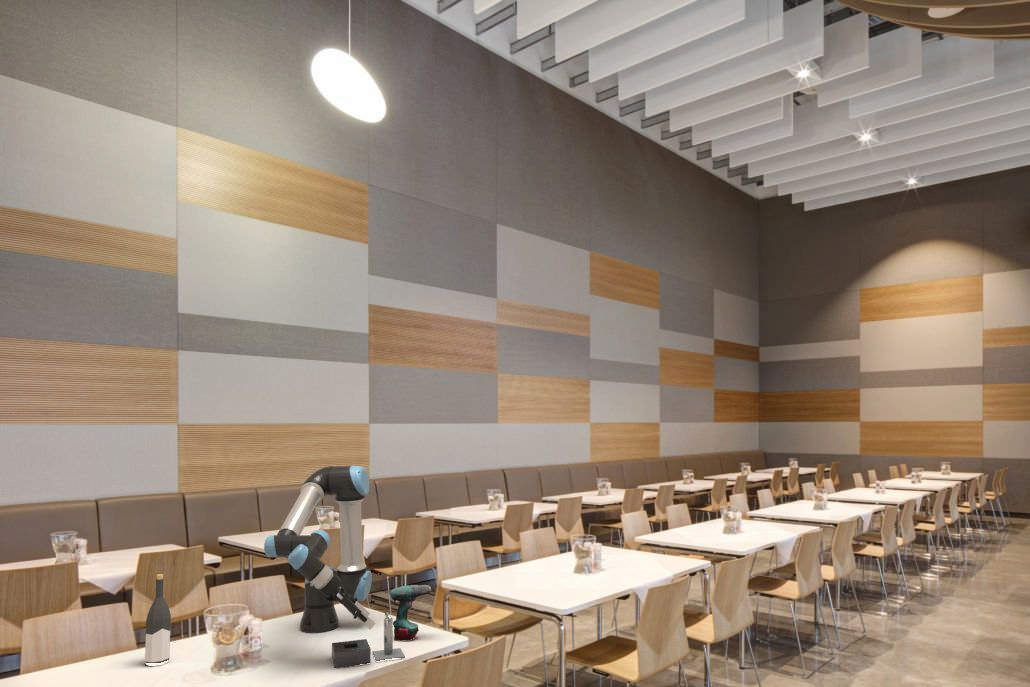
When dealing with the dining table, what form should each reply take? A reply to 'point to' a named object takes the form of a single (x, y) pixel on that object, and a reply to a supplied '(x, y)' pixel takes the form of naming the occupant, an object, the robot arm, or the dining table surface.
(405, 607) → the power drill
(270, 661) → the dining table surface
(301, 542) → the robot arm
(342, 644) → the chuck block
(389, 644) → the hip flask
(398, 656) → the mat
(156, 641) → the wine bottle
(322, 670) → the dining table surface
